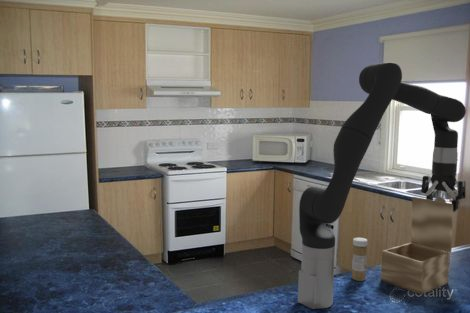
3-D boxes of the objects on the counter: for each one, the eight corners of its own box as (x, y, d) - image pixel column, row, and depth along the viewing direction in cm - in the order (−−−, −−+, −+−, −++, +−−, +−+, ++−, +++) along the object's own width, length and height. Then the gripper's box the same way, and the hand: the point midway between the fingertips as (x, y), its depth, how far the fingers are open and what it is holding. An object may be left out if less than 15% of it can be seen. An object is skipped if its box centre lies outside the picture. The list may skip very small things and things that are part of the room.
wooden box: (419, 294, 142) (421, 262, 141) (380, 280, 154) (382, 250, 153) (448, 283, 152) (450, 253, 151) (409, 270, 163) (411, 242, 162)
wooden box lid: (452, 203, 149) (463, 199, 153) (412, 196, 160) (423, 192, 164) (450, 253, 151) (461, 248, 155) (411, 242, 162) (422, 238, 166)
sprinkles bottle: (357, 275, 158) (358, 236, 156) (368, 279, 154) (370, 239, 153) (348, 278, 155) (350, 238, 154) (360, 282, 151) (362, 241, 150)
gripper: (418, 159, 160) (416, 206, 162) (459, 164, 149) (456, 214, 151) (431, 158, 165) (428, 203, 166) (471, 162, 153) (468, 211, 155)
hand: (441, 208), depth 158 cm, fingers open, 8 cm apart
